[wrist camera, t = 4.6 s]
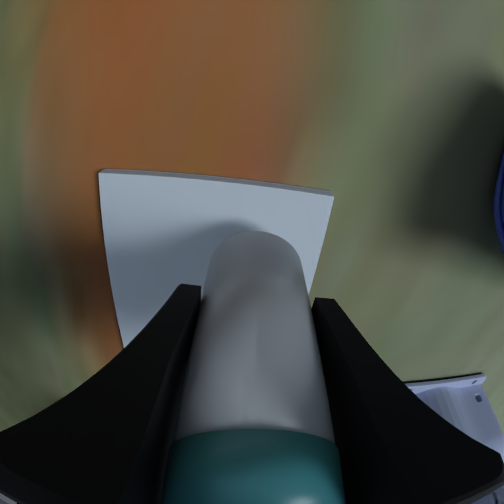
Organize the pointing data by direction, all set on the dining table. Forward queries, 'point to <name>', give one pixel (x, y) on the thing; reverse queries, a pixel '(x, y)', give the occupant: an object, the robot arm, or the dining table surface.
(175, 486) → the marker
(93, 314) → the dining table surface
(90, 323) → the dining table surface
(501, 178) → the pencil case
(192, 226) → the note pad
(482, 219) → the dining table surface
